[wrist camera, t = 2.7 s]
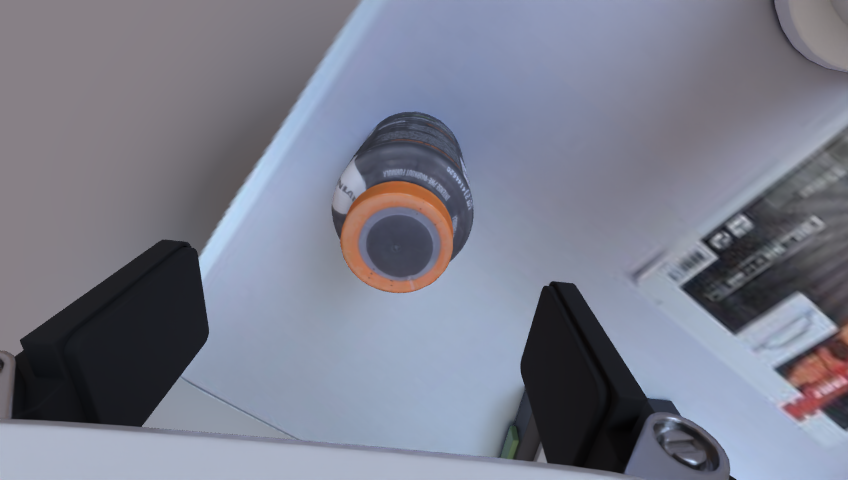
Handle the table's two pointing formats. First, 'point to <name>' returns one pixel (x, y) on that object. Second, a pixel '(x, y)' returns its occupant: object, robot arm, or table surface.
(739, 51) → the table surface
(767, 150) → the table surface
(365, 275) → the pill bottle
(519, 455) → the scale
